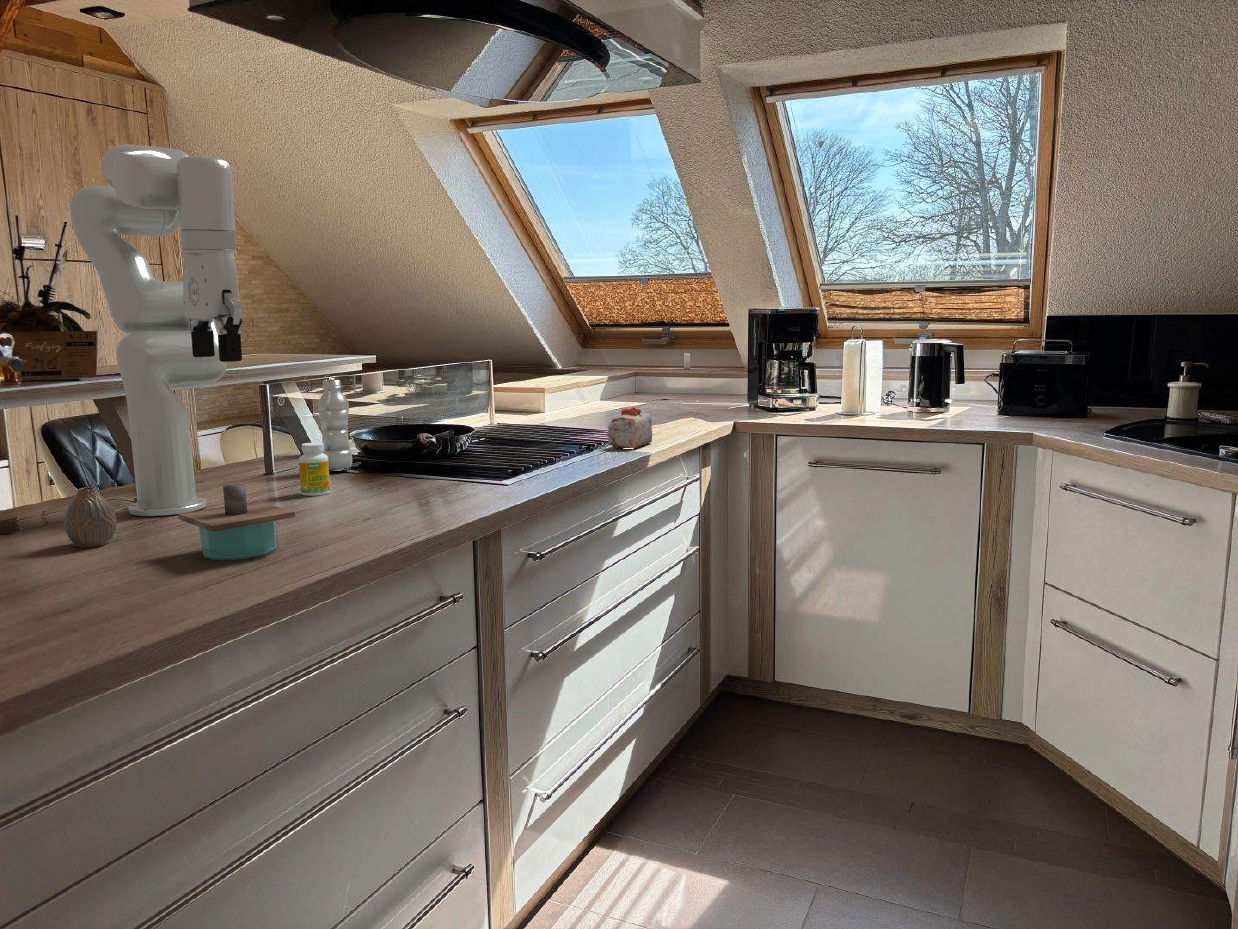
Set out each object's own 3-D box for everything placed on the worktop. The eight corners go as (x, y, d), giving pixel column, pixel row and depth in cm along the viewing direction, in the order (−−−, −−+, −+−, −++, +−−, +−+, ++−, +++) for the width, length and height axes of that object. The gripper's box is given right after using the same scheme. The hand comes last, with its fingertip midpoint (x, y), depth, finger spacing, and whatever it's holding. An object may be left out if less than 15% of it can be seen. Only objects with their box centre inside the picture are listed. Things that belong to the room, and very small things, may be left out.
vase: (126, 538, 149) (121, 483, 147) (104, 549, 142) (98, 492, 140) (82, 539, 148) (76, 484, 147) (57, 551, 142) (51, 493, 140)
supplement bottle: (308, 497, 179) (304, 446, 178) (296, 493, 183) (292, 444, 182) (335, 493, 183) (331, 443, 181) (323, 490, 187) (319, 441, 185)
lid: (178, 519, 138) (175, 486, 138) (258, 506, 147) (255, 475, 146) (212, 531, 130) (209, 497, 129) (295, 517, 138) (292, 484, 138)
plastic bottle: (329, 469, 212) (323, 379, 209) (358, 469, 211) (352, 379, 208) (316, 474, 206) (309, 381, 202) (345, 474, 205) (339, 381, 201)
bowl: (191, 552, 139) (188, 519, 138) (257, 539, 146) (254, 508, 145) (221, 564, 132) (218, 529, 131) (288, 550, 139) (286, 517, 139)
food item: (636, 451, 231) (635, 411, 229) (605, 450, 234) (604, 410, 232) (655, 443, 243) (654, 405, 242) (626, 442, 246) (625, 404, 245)
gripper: (161, 243, 145) (169, 356, 148) (207, 242, 133) (216, 364, 136) (210, 245, 150) (217, 354, 153) (259, 244, 138) (266, 362, 141)
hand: (217, 358), depth 145 cm, fingers open, 9 cm apart
